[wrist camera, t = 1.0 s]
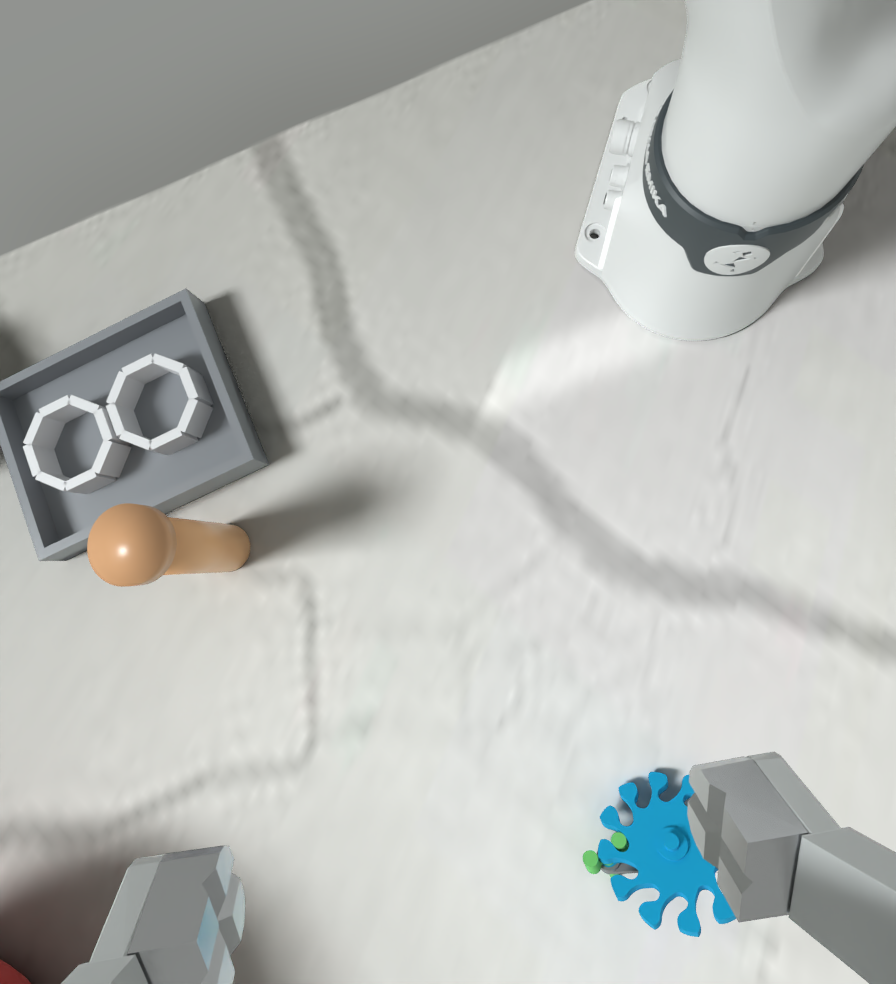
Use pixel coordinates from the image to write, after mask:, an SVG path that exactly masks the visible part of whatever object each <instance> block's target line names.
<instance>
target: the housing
mask: <svg viewBox="0 0 896 984" xmlns="http://www.w3.org/2000/svg"><path fill="white" fill-rule="evenodd" d="M0 445H1V448H2V451H3V454H4V457H5V460H6V463H7V466H8V469H9V472H10V475H11V478H12V481H13V484H14V487H15V490H16V493H17V496H18V499H19V502H20V505H21V508H22V511H23V514H24V517H25V520H26V524H27V527H28V530H29V533H30V536H31V539H32V542H33V545H34V548H35V551H36V554H37V557H38V560H39V561H66V560H68V559H70V558H73V557H75V556H77V555H79V554H81V553H83V552H85V551H87V543H88V537H89V533H90V531H91V528H92V526H93V524H94V523H95V521H96V520H97V519H98V517H99V516H100V515H101V514H102V513H104V512H105V511H106V510H108V509H109V508H111V507H113V506H116V505H119V504H125V503H131V504H139V505H146V506H151V507H154V508H156V509H158V510H160V511H161V512H163V513H164V514H166V513H168V512H170V511H172V510H174V509H176V508H178V507H181V506H183V505H185V504H187V503H189V502H191V501H193V500H195V499H197V498H200V497H202V496H204V495H206V494H208V493H210V492H212V491H214V490H217V489H219V488H221V487H223V486H225V485H227V484H229V483H231V482H233V481H236V480H238V479H240V478H242V477H244V476H246V475H248V474H250V473H252V472H255V471H257V470H259V469H261V468H263V467H265V466H267V465H269V463H268V461H267V458H266V456H265V453H264V451H263V448H262V446H261V443H260V441H259V438H258V436H257V433H256V431H255V428H254V426H253V423H252V421H251V418H250V416H249V413H248V411H247V408H246V406H245V403H244V401H243V398H242V396H241V393H240V391H239V388H238V386H237V383H236V381H235V378H234V376H233V373H232V371H231V368H230V366H229V363H228V361H227V358H226V356H225V353H224V351H223V348H222V346H221V343H220V341H219V338H218V336H217V333H216V331H215V328H214V326H213V323H212V321H211V318H210V316H209V313H208V311H207V308H206V306H205V303H204V302H202V301H201V300H200V299H199V298H197V297H196V296H195V295H194V294H192V293H191V292H190V291H189V290H187V289H184V290H182V291H180V292H178V293H176V294H174V295H172V296H170V297H168V298H166V299H164V300H162V301H160V302H158V303H156V304H154V305H152V306H150V307H148V308H146V309H144V310H142V311H140V312H138V313H136V314H134V315H132V316H130V317H128V318H126V319H124V320H122V321H120V322H118V323H116V324H114V325H112V326H110V327H108V328H106V329H104V330H102V331H100V332H98V333H96V334H94V335H92V336H90V337H88V338H86V339H84V340H82V341H80V342H78V343H76V344H74V345H72V346H70V347H68V348H66V349H64V350H62V351H60V352H58V353H56V354H54V355H52V356H50V357H48V358H46V359H44V360H42V361H40V362H38V363H36V364H34V365H32V366H30V367H28V368H26V369H24V370H22V371H20V372H18V373H16V374H14V375H12V376H10V377H8V378H6V379H4V380H2V381H0Z"/></svg>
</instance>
